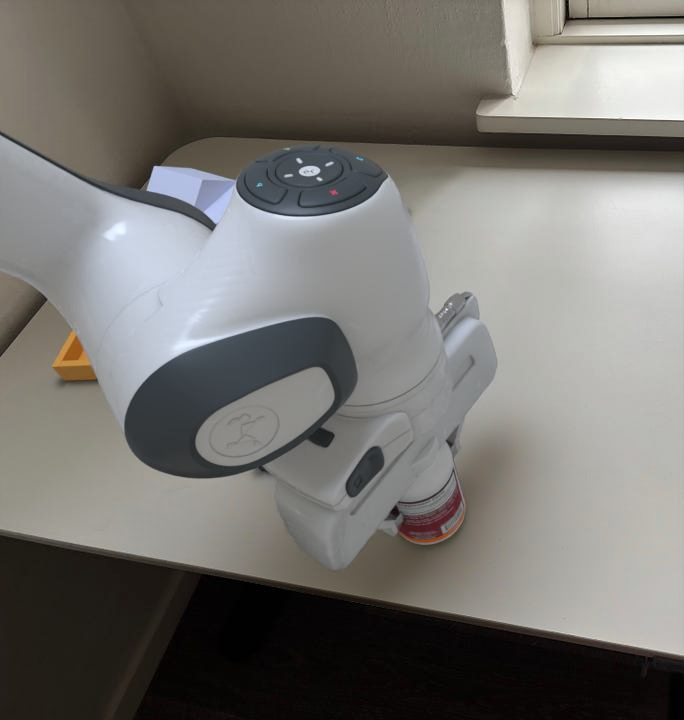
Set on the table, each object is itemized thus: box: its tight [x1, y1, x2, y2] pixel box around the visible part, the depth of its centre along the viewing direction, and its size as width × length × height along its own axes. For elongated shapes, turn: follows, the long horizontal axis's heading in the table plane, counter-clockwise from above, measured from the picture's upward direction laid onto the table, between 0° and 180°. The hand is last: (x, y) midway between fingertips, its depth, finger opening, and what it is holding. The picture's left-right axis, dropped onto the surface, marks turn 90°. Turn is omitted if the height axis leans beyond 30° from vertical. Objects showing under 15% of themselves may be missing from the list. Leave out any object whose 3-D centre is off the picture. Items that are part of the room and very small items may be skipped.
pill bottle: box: [394, 435, 466, 546], centre depth 56 cm, size 6×6×11 cm
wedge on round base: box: [146, 165, 236, 225], centre depth 89 cm, size 9×7×13 cm
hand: (420, 488), depth 57 cm, fingers closed on pill bottle, 6 cm apart
